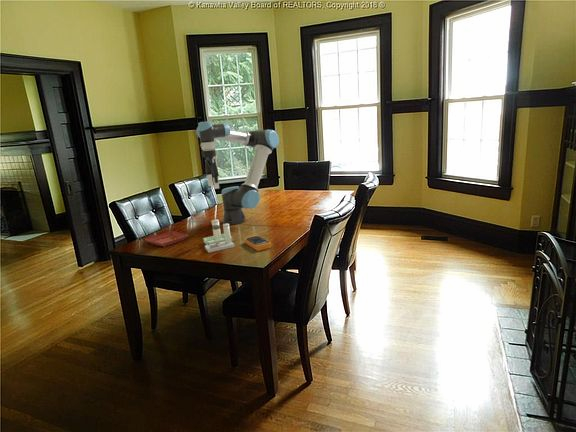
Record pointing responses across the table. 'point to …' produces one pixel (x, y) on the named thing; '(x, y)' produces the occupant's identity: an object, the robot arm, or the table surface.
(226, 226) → the fuse
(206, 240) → the parts tray
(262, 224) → the table surface
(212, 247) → the fuse panel
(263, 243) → the multimeter
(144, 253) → the table surface
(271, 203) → the table surface
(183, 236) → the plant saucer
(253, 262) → the table surface
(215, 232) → the fuse
